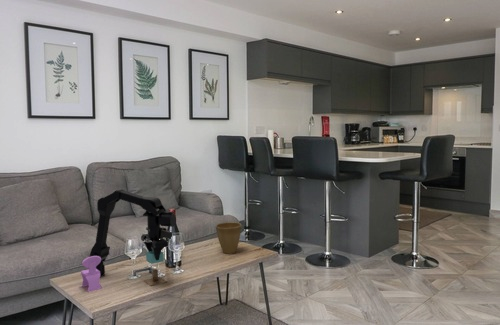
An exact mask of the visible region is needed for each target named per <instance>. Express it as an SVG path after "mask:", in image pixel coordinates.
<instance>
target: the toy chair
mask: <svg viewBox="0 0 500 325" xmlns="http://www.w3.org/2000/svg"><path fill="white" fill-rule="evenodd" d="M100 262H101V258H100V257H99V256H91V257H89V256H88V257H86V258H84V259H83V260H82V262H81V265H82V266H83V267H84V268H85V270H81V271H80V275H81V277H82V285H81V287H82V288H83V287H87V286H88V288H87V293H89V292H93V291H97V290H100V289H103V288H102V286H101V283H100V278H101V276H100V271H99V270H97V269H96V266H97V265H98V264H99V263H100Z"/></svg>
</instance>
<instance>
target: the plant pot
mask: <svg viewBox="0 0 500 325" xmlns="http://www.w3.org/2000/svg"><path fill="white" fill-rule="evenodd" d="M215 229H216V234H217V239H218V242H219V245H220V248H221V251H222V252H224V253H223V254H226V253H232V254H235V253H236V252H237V250H238V246H239V244H240V243H239V242H240V238H241V233H242V224H241V223H239V222H233V221H231V222H230V221H229V222H222V223H218V224H216V225H215Z"/></svg>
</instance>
